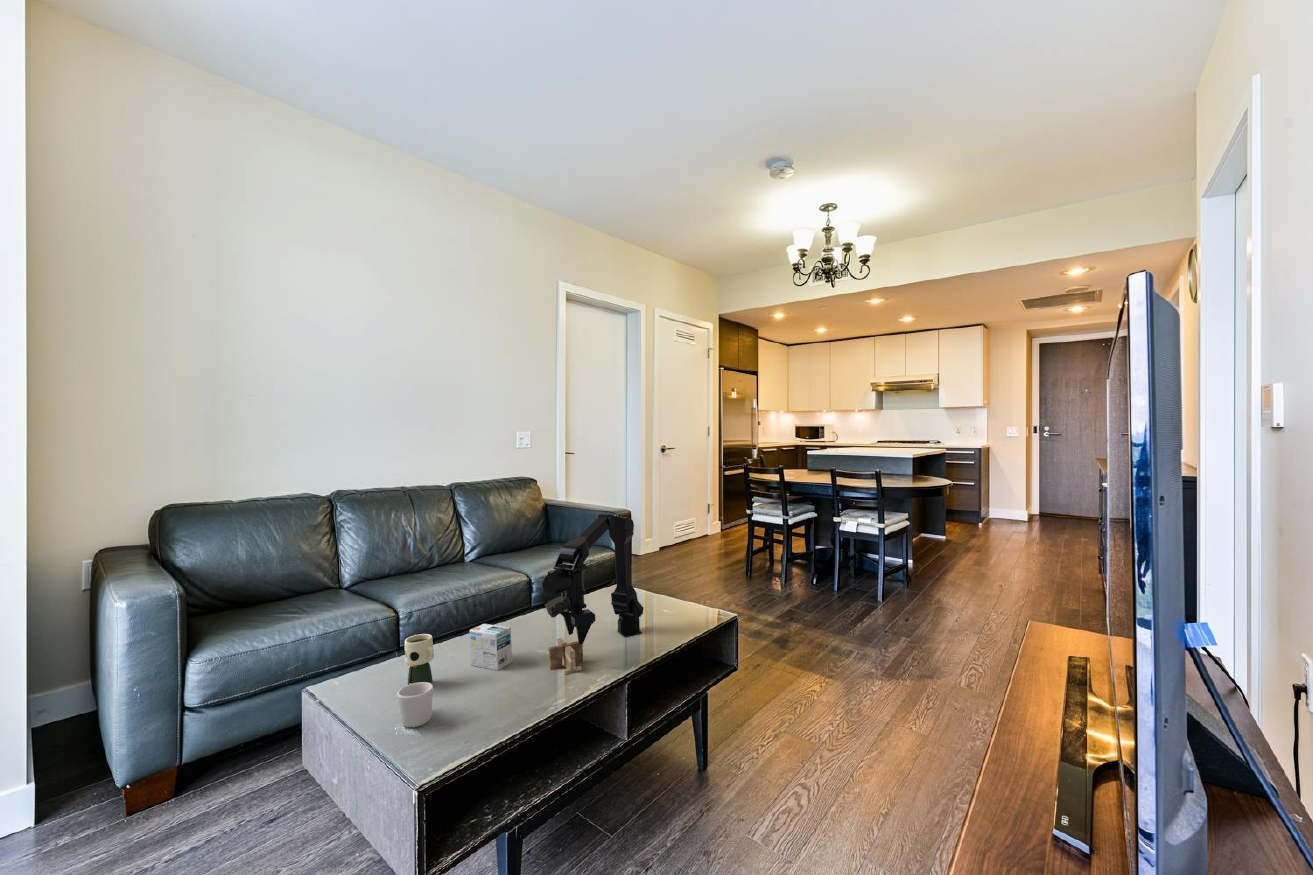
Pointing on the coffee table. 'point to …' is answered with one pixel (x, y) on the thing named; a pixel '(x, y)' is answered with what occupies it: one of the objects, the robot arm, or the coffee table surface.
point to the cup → (415, 703)
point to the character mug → (419, 657)
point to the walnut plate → (559, 652)
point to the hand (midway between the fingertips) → (575, 639)
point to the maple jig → (568, 658)
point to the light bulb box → (490, 646)
